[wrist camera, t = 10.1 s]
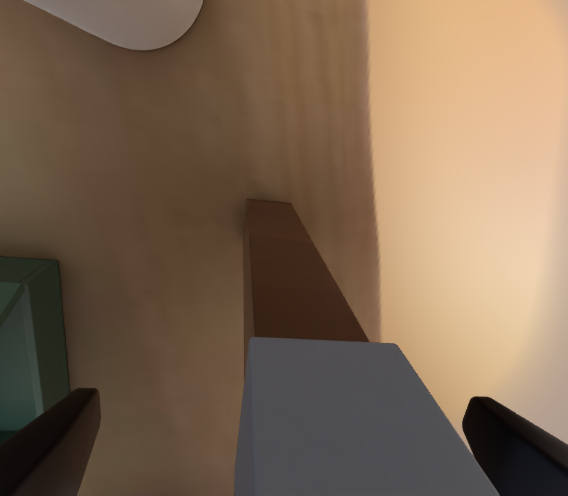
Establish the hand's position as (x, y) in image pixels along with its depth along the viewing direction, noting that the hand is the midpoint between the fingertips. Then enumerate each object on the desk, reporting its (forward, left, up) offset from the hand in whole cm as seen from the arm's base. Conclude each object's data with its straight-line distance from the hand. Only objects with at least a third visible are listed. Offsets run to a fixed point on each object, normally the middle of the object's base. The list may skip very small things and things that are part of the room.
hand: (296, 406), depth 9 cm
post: (+1, 0, -12) cm, 12 cm away
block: (+1, 0, +1) cm, 2 cm away
